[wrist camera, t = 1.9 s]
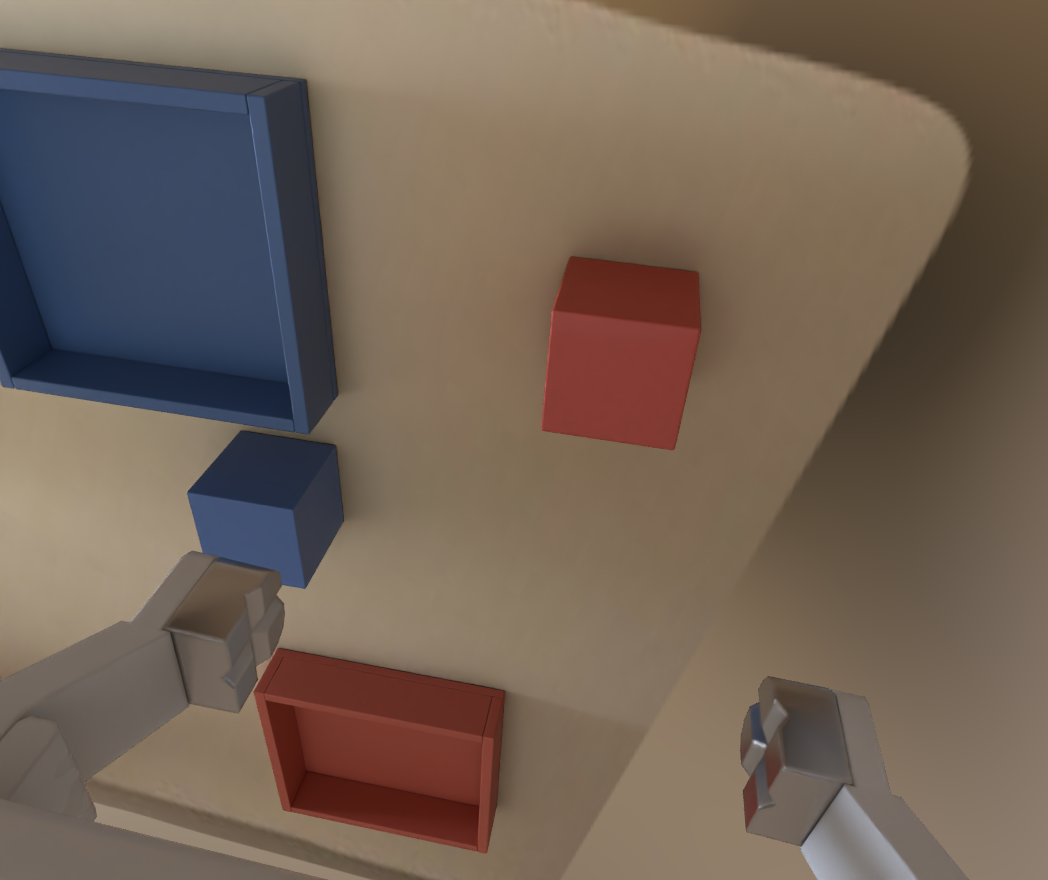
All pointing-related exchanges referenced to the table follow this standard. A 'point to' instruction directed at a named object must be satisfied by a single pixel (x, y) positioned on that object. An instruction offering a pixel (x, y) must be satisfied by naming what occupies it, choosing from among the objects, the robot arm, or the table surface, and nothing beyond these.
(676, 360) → the red block
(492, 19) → the table surface
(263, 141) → the blue tray
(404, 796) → the red tray
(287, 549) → the blue block
